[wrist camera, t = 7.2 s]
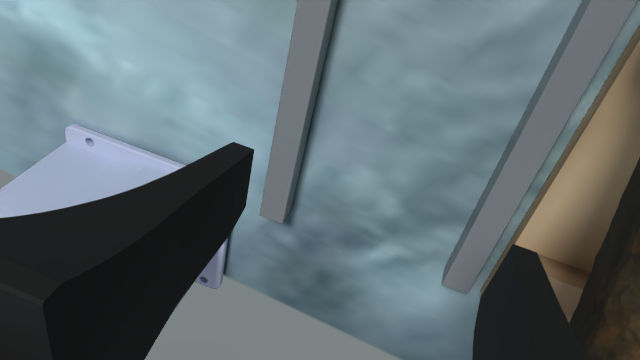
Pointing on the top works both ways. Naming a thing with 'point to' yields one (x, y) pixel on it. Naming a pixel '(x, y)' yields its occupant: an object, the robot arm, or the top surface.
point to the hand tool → (614, 287)
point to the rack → (586, 185)
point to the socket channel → (518, 158)
